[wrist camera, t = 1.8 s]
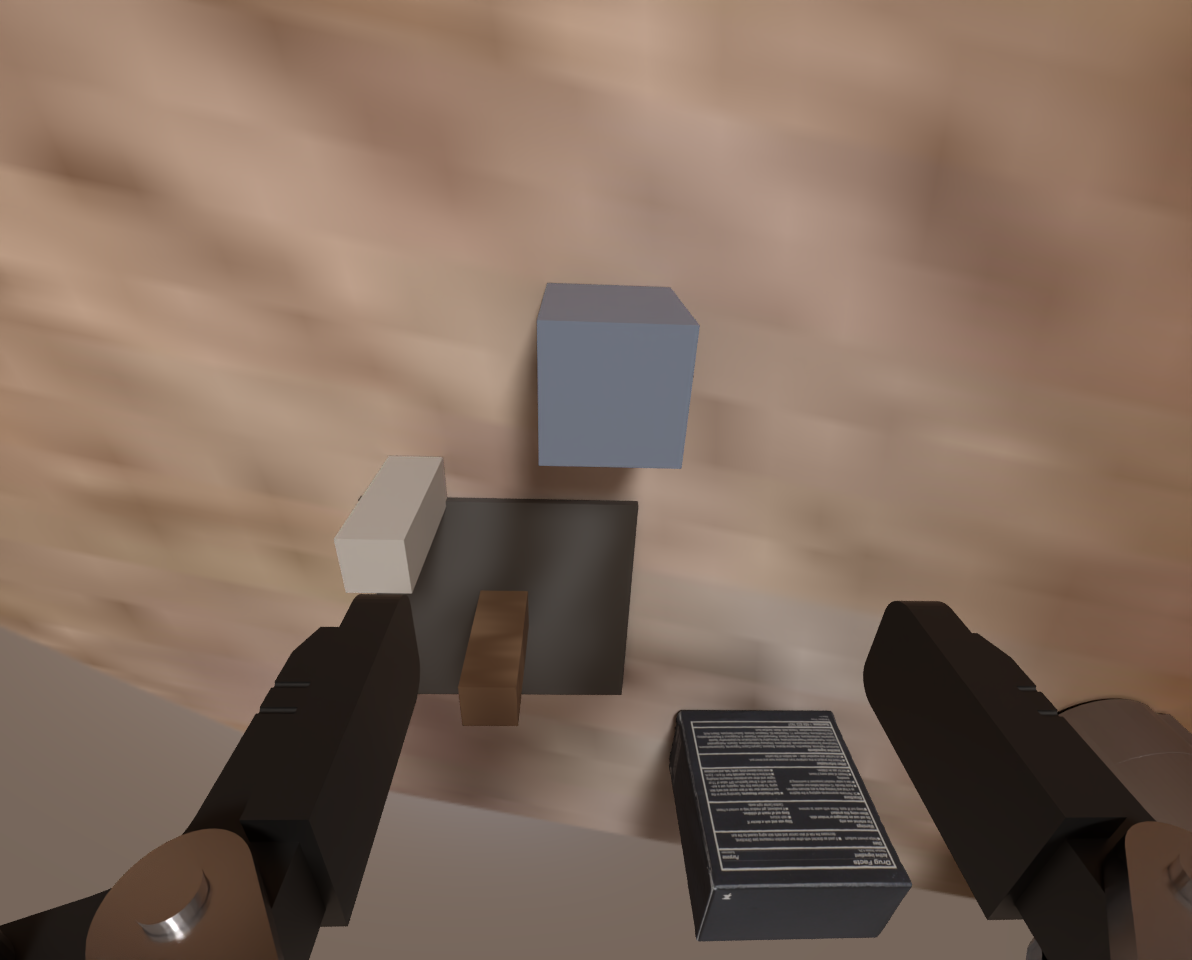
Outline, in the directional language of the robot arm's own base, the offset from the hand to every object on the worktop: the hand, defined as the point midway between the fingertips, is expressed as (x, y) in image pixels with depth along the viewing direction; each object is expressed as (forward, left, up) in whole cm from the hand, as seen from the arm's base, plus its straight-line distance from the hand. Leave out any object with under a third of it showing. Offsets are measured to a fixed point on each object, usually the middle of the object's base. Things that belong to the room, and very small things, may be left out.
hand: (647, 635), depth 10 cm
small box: (-11, +27, -18) cm, 34 cm away
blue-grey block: (0, 0, -18) cm, 18 cm away
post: (+9, +7, -18) cm, 21 cm away
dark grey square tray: (+5, +15, -18) cm, 24 cm away
